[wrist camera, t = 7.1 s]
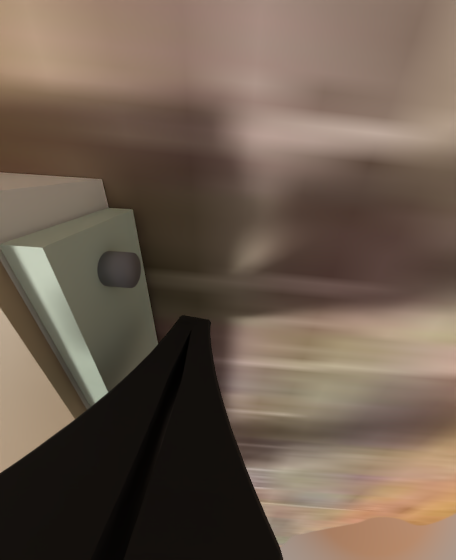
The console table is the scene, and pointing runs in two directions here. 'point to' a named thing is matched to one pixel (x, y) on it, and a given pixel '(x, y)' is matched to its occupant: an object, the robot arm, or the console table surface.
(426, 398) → the console table surface
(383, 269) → the console table surface
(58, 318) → the door
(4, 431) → the beige flat box
